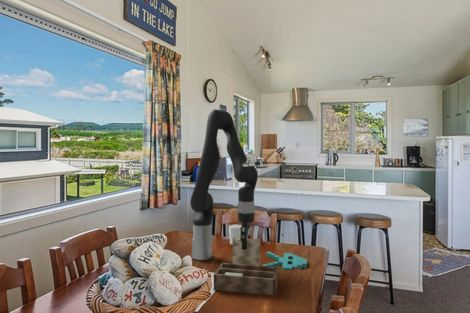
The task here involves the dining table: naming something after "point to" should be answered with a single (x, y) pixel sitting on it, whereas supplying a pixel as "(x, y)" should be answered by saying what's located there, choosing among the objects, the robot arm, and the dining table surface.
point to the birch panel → (246, 252)
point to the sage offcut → (234, 274)
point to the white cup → (234, 232)
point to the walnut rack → (247, 279)
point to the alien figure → (287, 261)
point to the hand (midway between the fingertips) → (246, 246)
